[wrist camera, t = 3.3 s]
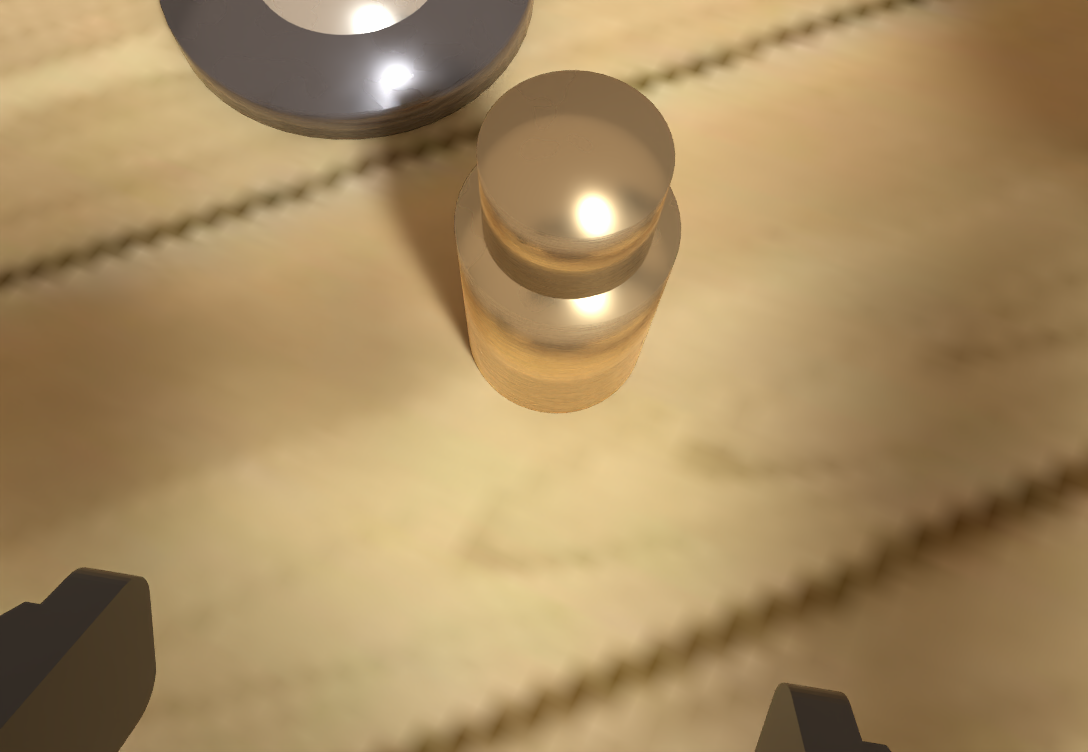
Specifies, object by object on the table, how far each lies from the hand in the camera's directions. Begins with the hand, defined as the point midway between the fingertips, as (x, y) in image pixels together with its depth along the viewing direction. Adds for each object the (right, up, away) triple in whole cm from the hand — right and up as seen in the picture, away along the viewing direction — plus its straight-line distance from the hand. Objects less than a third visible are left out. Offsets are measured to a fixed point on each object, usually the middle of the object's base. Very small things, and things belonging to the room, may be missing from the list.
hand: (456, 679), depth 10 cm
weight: (+2, +5, +17) cm, 18 cm away
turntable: (-6, +19, +22) cm, 30 cm away
